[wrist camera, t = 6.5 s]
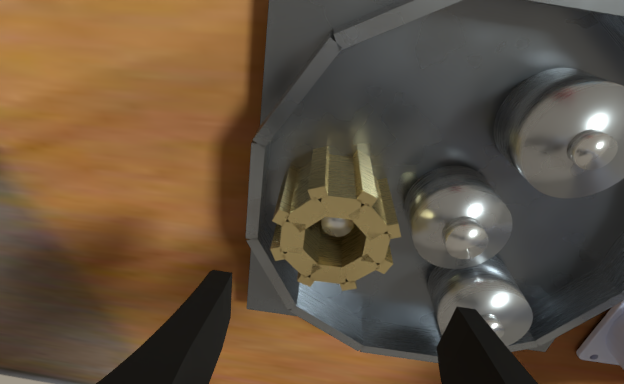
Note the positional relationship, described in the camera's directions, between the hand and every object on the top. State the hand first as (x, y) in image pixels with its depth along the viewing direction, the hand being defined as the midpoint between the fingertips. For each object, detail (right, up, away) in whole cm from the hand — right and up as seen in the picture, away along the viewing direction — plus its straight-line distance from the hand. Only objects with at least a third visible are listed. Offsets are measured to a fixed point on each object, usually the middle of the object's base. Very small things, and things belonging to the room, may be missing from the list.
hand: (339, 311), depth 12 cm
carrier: (+6, +4, +8) cm, 11 cm away
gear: (0, +4, +7) cm, 8 cm away
